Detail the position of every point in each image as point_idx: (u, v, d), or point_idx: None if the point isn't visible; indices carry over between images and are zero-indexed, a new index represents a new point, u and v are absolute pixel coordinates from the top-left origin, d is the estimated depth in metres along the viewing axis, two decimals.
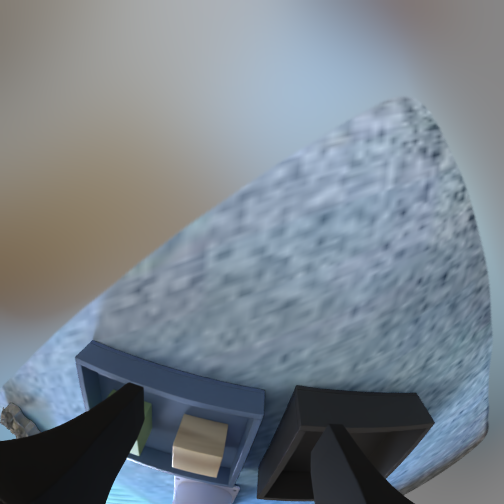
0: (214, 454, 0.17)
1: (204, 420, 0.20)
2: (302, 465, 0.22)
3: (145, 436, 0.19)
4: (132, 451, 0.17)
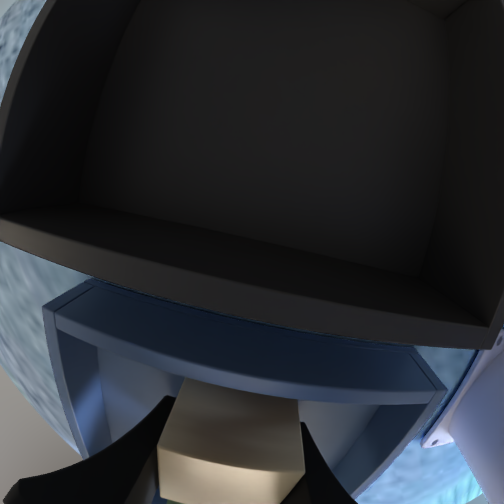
0: (157, 455, 0.06)
1: None
2: (414, 160, 0.07)
3: None
4: None
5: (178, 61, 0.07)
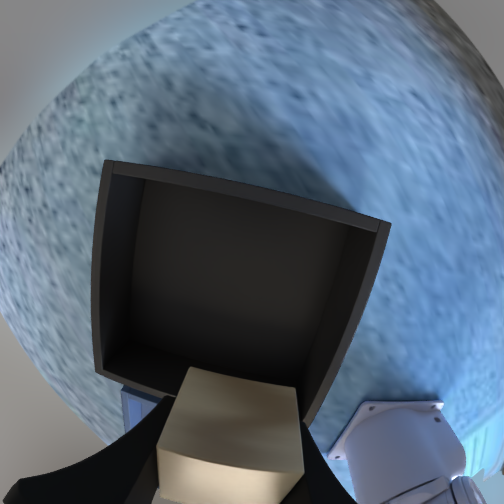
0: (157, 455, 0.06)
1: None
2: (295, 333, 0.16)
3: None
4: None
5: (171, 280, 0.16)
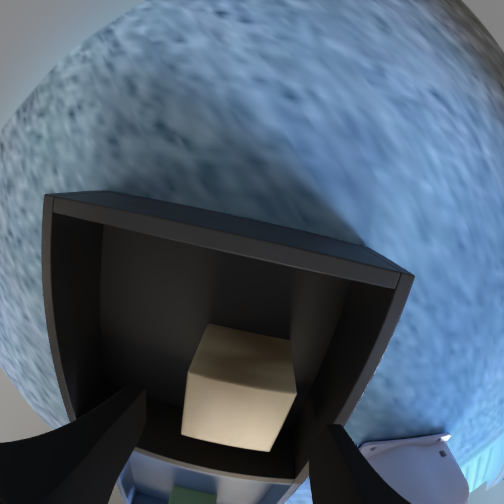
0: (186, 383, 0.09)
1: None
2: None
3: None
4: None
5: (142, 326, 0.13)
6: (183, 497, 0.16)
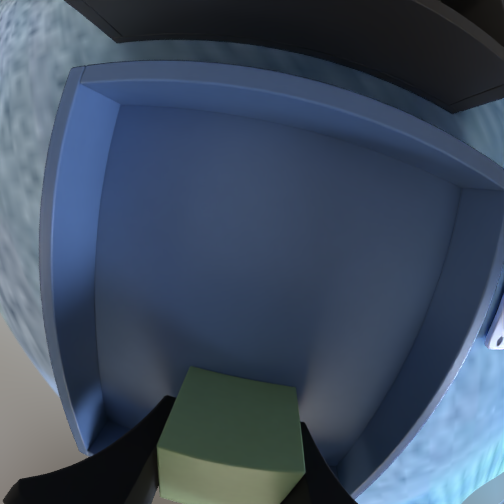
0: None
1: None
2: None
3: (264, 422, 0.07)
4: (280, 481, 0.06)
5: None
6: (215, 392, 0.08)
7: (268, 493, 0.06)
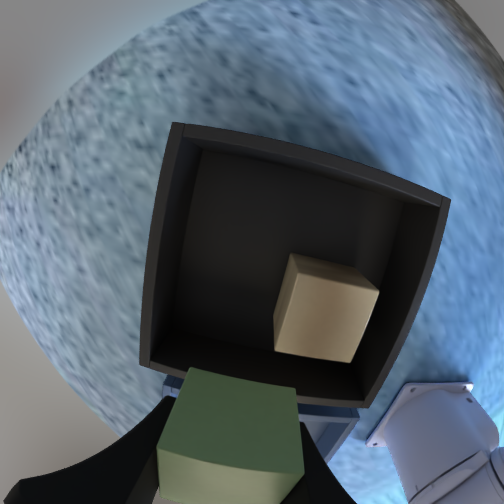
0: (293, 287, 0.12)
1: (281, 288, 0.16)
2: None
3: (263, 423, 0.07)
4: (279, 482, 0.06)
5: (227, 260, 0.16)
6: (215, 393, 0.08)
7: (267, 494, 0.06)
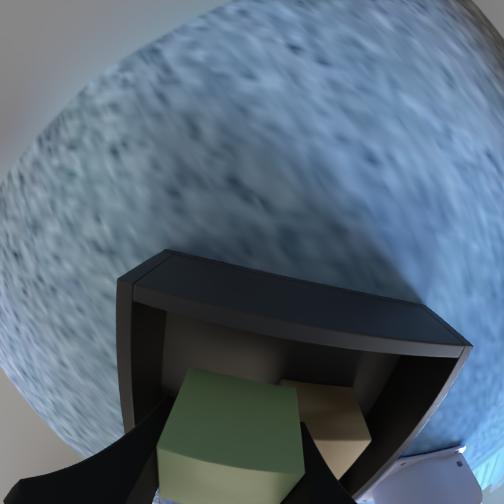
0: None
1: None
2: None
3: (263, 422, 0.07)
4: (279, 482, 0.06)
5: None
6: (215, 393, 0.08)
7: (268, 493, 0.06)
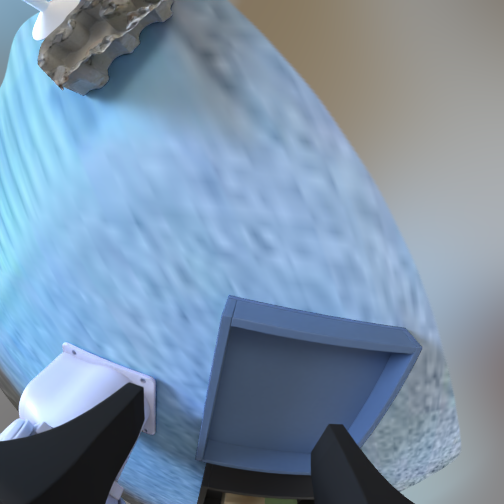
0: None
1: None
2: None
3: None
4: None
5: None
6: None
7: None
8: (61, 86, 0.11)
